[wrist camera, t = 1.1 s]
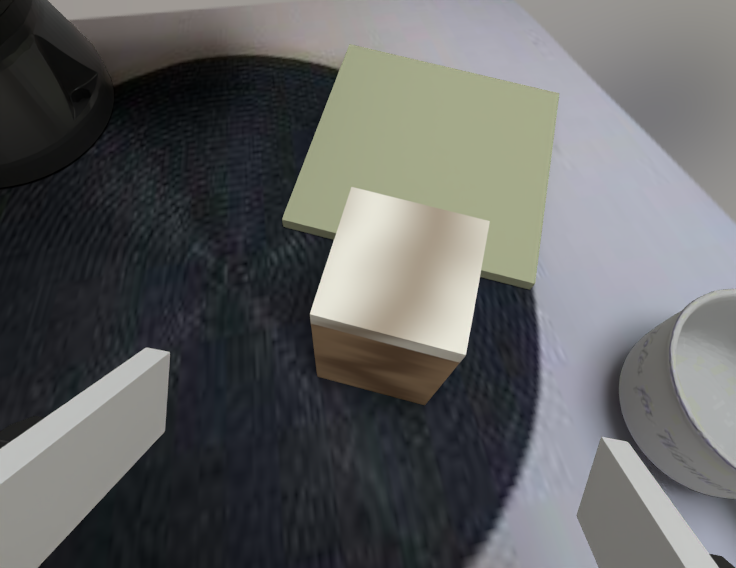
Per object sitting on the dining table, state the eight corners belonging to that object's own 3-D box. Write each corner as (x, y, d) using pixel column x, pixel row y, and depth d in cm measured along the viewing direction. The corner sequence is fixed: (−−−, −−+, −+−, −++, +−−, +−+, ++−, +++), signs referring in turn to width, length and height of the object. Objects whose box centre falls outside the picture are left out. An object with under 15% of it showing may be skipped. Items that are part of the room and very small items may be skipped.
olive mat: (283, 226, 37) (282, 219, 36) (349, 53, 44) (349, 44, 43) (530, 289, 36) (534, 283, 35) (554, 102, 43) (559, 93, 42)
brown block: (317, 376, 32) (309, 314, 22) (346, 280, 35) (351, 186, 25) (424, 405, 32) (465, 355, 22) (445, 305, 35) (489, 221, 25)
